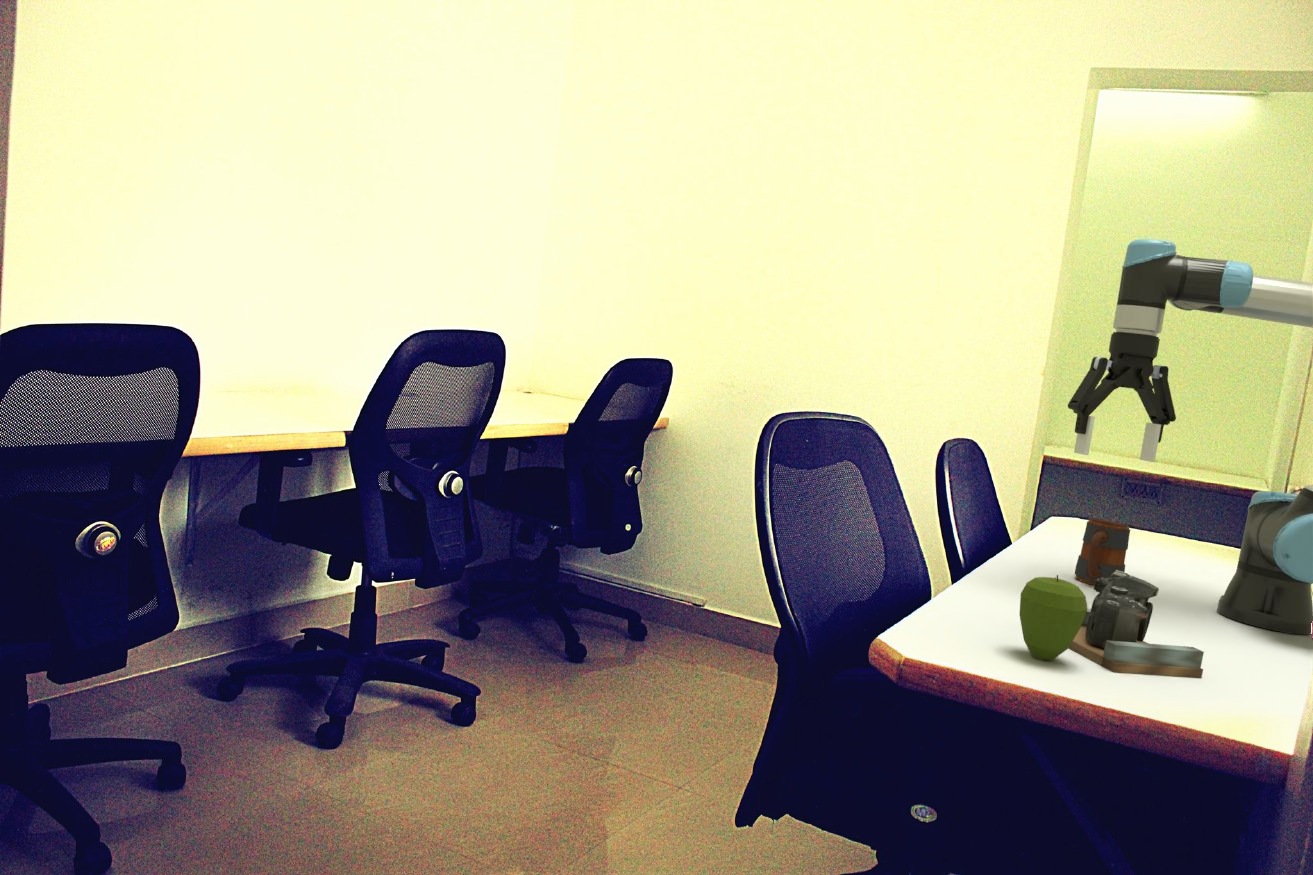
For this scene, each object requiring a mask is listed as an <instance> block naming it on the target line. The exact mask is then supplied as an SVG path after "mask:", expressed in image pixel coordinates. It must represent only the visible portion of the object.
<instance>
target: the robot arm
mask: <svg viewBox="0 0 1313 875" xmlns="http://www.w3.org/2000/svg"><path fill="white" fill-rule="evenodd" d="M1176 249H1177V245H1176V244H1175V243H1174V242H1173V241H1170V240H1162V239H1153V238H1151V239H1150V238H1140V239H1139V238H1138V239H1134V240H1132V241H1131V242H1129V243H1128V245H1127V249H1126V253H1125V257H1124V261H1123V265H1122V266H1121V267H1122V268H1121V269H1122V271H1121V276H1120V282H1119V289H1118V296H1117V302H1116V308H1115V313H1114V319H1113V323H1112V324H1113V325H1112V328H1113V329H1115V331H1113V333H1110V334H1111V335H1110V339H1109V340H1110V341H1109V348H1108V352H1109V354H1110V356H1109V357H1108V358H1109V359H1108V358H1107V357H1100V356H1093V358H1092V359H1091V362H1090V363H1091V364H1090V368H1089V370H1088V371H1087V373H1086V374H1085V376H1084V377H1083V379H1082V381H1081V382H1080V384H1079V386H1078V387H1077V389H1076V391H1075V392H1074V394H1073V396H1072V397H1071V399H1070V400H1069V402H1068V404H1067V408H1068V409H1069V410H1072V411H1073V413H1074V414H1076V420H1075V424H1074V425H1075V427H1074V433H1076V439H1075V445H1074V450H1073V453H1075V454H1080V455H1083V456H1089V455H1090V454H1089V453H1090V447H1091V442H1092V437H1093V431H1094V430H1093V429H1094V424H1095V416H1093V415H1092V416H1091V414H1093V412H1094V411H1095V410H1096V409H1097V408H1098V407H1100V405H1101V404H1103V402H1104V401H1105V400H1106V399H1107V398H1108V397H1109V396H1110V395H1111V394H1112V393H1113V391H1115V390H1117V389H1119V388H1125V389H1133V391H1135V392H1136V394H1138V397H1139V399H1140V401H1141V404H1142V405H1143V407H1144V410H1145V411H1146V413H1147V416H1148V418H1149V420H1150V422H1145V426H1144V427H1145V428H1144V434H1143V437H1142V438H1143V440H1142V445H1141V451H1140V457H1139V460H1140V461H1145V462H1150V463H1155V462H1156V457H1157V450H1158V444H1160V443H1161V441H1162V439H1163V438H1162V437H1163V432H1164V427H1165V426H1168V425H1169V424H1170V423H1172V422H1175V421H1176V420H1177V416H1176V412H1175V408H1174V402H1173V397H1172V393H1171V389H1170V388H1171V387H1170V384H1169V367H1168V366H1167V365H1157V364H1155V365H1154V364H1153V363H1154V360H1155V358H1157V356H1158V352H1159V346H1160V341H1161V339H1160V337H1159V336H1158V334H1161V333H1162V330H1163V324H1164V318H1165V313H1166V312H1165V311H1166V305H1167V302H1168V303H1169V304H1171V306H1172V307H1174V308H1176V309H1179V310H1181V311H1200V312H1208V313H1212V314H1213V313H1215V314H1216V313H1217V314H1223V315H1229V316H1233V317H1235V316H1236V317H1242V318H1248V319H1256V320H1260V321H1267V322H1274V323H1279V324H1280V323H1281V324H1286V325H1291V326H1292V325H1293V326H1299V327H1306V328H1313V282H1311V281H1301V280H1296V279H1288V278H1281V277H1275V276H1266V275H1261V274H1254V269H1253V267H1252V265H1251V264H1249V263H1247V262H1243V261H1235V260H1233V259H1229V260H1225V259H1216V258H1203V257H1193V256H1191V257H1190V256H1185V255H1181V254H1177V250H1176ZM1106 371H1107V372H1108V373H1107V374H1106V375H1105V373H1106ZM1150 377H1151V380H1150ZM1246 517H1247V518H1246V522H1245V526H1244V527H1245V528H1244V531H1243V537H1242V541H1241V545H1240V546H1241V547H1240V550H1239V551H1240V552H1239V557H1238V560H1237V565H1236V570H1235V573H1234V575H1233V577H1232V578H1231V580H1230V581H1229V584H1227V587H1226V589H1225V591H1224V594H1222V595H1221V596H1220V597H1219V600H1218V603H1217V607H1216V612H1218V613H1219V614H1221V615H1222V616H1225V617H1227V618H1229V619H1231V620H1234V621H1237V622H1241V623H1243V624H1247V625H1249V626H1253V627H1258V628H1262V629H1266V630H1271V631H1276V632H1281V633H1287V634H1293V635H1294V634H1295V635H1312V634H1311V623H1312V621H1313V597H1312V596H1313V595H1312V585H1313V484H1309V485H1304V486H1303V487H1302V489H1301V490H1300V491H1299V493H1298V494H1295V493H1290V492H1289V493H1288V492H1287V493H1286V492H1277V491H1269V490H1260V491H1256V492H1255V493H1253V495H1252V496H1251V500H1250V503H1249V505H1248V507H1247V516H1246Z"/></svg>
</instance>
